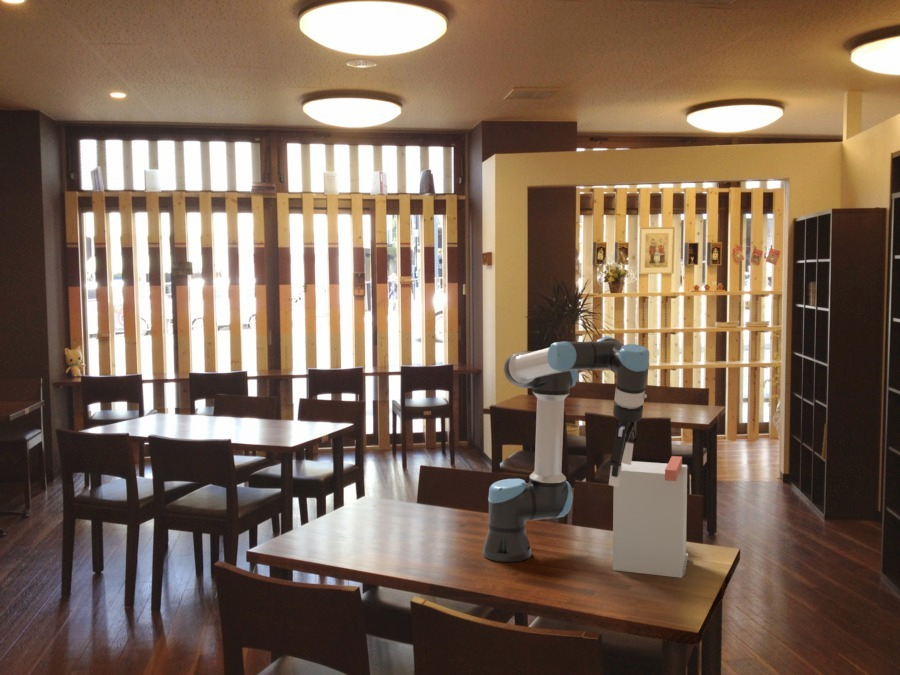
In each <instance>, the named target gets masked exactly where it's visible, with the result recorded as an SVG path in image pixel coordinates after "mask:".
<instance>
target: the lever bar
mask: <svg viewBox="0 0 900 675" xmlns="http://www.w3.org/2000/svg"><path fill="white" fill-rule="evenodd" d="M667 464H668V465H667V467H666V469H665V480H666V481H676V480H677V477H678V475H679V472H680V470H681V467H682V465H683V456H679V455H678V456H676V455H671V457H670V459H669V461H668V463H667Z"/></svg>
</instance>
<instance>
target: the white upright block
mask: <svg viewBox="0 0 900 675" xmlns="http://www.w3.org/2000/svg"><path fill="white" fill-rule="evenodd" d="M621 464H622V469H621V477H620V485H619V487H615V486H613V492H612V493H613V498H612V500H613V504H612V506H613V507H612V508H613V509H612V510H613V511H612V517H613V518H612V523H613V524H612V561H611V568H612V571H619V572H629V573H637V574H645V575H652V576H653V575H655V576H665V577H670V578H679V579H680V578H681V579H682V578H683V577H684V576H685V575H686V571H687V567H688V562H687V561H689V553H688V552H687V516H688V515H687V514H688V513H687V511H688V510H687V508H688V507H687V506H688V464H682V467H681V470H680V472H679V475H678V477H677V480H676V481H666V480H665V469H666V467H667V465H668V463H666V462H665V463H662V462H649V461H634V460H632V461H631V465H628V464H624V463H621ZM686 566H687V567H686Z"/></svg>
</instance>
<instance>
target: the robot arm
mask: <svg viewBox="0 0 900 675" xmlns="http://www.w3.org/2000/svg"><path fill="white" fill-rule="evenodd" d="M503 365H504V366H503V372H504V373H503V374H504V376H505V378H506V380H508V382H509V383H510V384H512V385H513V386H516V387H518V388H521V389H522V388H523V389H532V394H533V395H534V396H535V397H536V420H535V447H534V448H535V452H534V470H533V472H532V473H530V474H529V479H528V480H529V481H528V482H527V483H526V480H524V479H522V478H507V479H506V478H505V479H501V480H498V481H494V482H493V483H492V484H491V485H490V486H489V489H488V496H487V497H488V498H487V500H488V531H487V533H486V534H487V535H486V538H485V541H484V544H483V548H482V555H483V557H484V558H485V559H487V560H490V561H494V562H500V563H516V562H517V563H518V562H522V561H526V560H529V559H530V558H531V556H532V547H531V544H530V542H529V537H528V535H527V530H526V529H527V528H526V524H527V523H526V522H528V521H537V520H538V521H540V520H556V519H557V518H563V517H566V516H567V515H568V514H569V512H570V510H571V509H572V505H573V498H574V497H573V496H574V495H573V491H572V490H573V489H572V486H571V484H570V483H569V481H567V477H566V476H565V475H564V473H562V469H563V468H562V467H563V466H562V465H563V463H562V462H563V444H564V443H563V441H564V440H563V438H564V415H565V414H564V412H565V399H566V398H567V397H568V396H569V395H570V389H571V388H573V387H575V386H576V384H577V382H578V378H579V376H578V375H579V374H578V373H579V372H578V371H585V370H590V371H592V370H593V371H594V370H610V371H611V372H612V373H614V374H615V375H617V376H616V385H615V391H614V393H615V394H614V403H613V412H612V414H613V416H614V418H616V419H617V420H619V422H618V423H617V425H616V429H615V436H614V441H613V446H612V450H611V454H610V459H609V460H608V461H607V464H608V465H609V466H610V470H609V479H608V486H612V487H614V486H615V487H619V485H620V477H621V469H622V464H621V463H624V464H628V465H631V461H633V460H632V459H633V452H634V444H635V443H637V442H638V438H636V436H637V422H639V421H640V420H642V417H643V411H644V400H645V399H646V398H647V397H648V395H647V394H646V393H645V392H646V388H647V381H648V375H649V374H648V373H649V368H650V351H649V349H648V348H647V347H646V346H643V345H640V344H634V343H633V344H632V343H629V344H624V343H622V342H621V341H620V340H617V338H613V337H612V336H608V335H607V336H603V337H601V338H599V339H597V340H596V341H566V340H565V341H557V342H553V343H551V344H550V346H549V347H546V348H543V349H538V350H533V351H532V350H523V351H522V350H521V351H518V352H517V351H516V352H515V353H512V354H511V355H509V356H508V357H507V358H506V360H505V362H504V364H503Z"/></svg>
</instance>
